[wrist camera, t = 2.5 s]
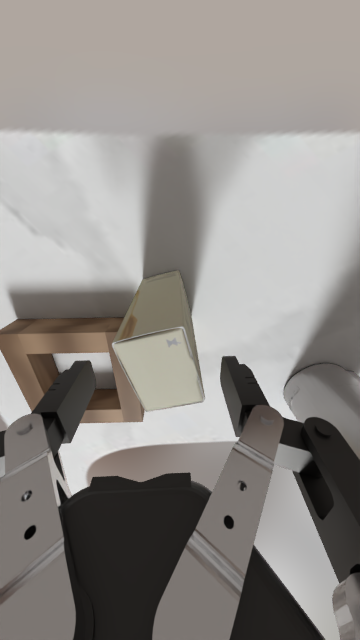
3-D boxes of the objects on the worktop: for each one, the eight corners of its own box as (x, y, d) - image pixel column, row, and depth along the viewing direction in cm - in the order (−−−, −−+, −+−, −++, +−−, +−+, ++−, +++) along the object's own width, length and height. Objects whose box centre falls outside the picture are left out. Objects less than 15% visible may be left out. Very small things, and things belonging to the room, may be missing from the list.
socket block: (135, 317, 24) (129, 332, 21) (146, 400, 30) (142, 421, 27) (17, 319, 24) (-8, 334, 20) (52, 402, 30) (38, 424, 27)
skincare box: (141, 278, 22) (105, 338, 11) (180, 268, 21) (183, 320, 10) (158, 328, 24) (143, 416, 14) (193, 320, 24) (206, 404, 13)
